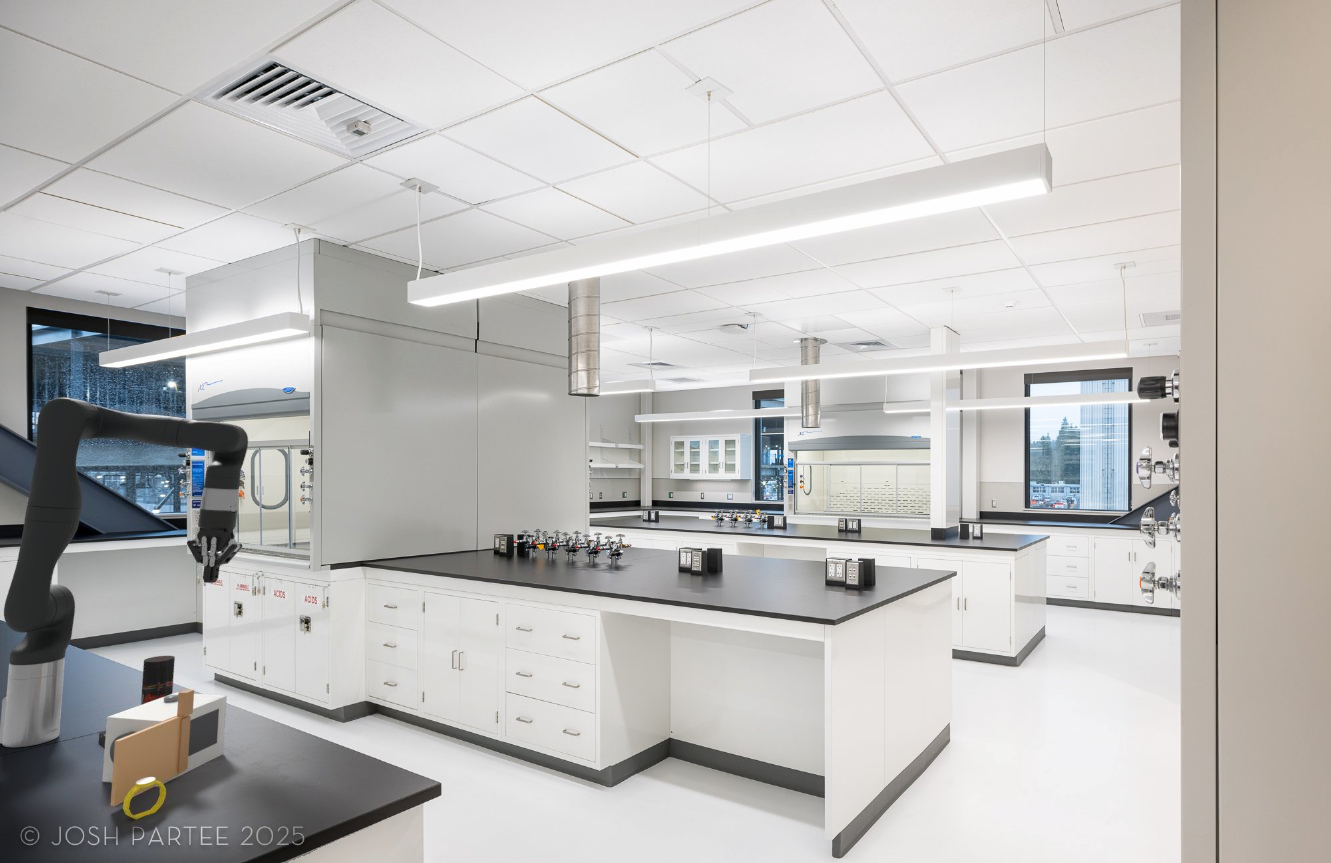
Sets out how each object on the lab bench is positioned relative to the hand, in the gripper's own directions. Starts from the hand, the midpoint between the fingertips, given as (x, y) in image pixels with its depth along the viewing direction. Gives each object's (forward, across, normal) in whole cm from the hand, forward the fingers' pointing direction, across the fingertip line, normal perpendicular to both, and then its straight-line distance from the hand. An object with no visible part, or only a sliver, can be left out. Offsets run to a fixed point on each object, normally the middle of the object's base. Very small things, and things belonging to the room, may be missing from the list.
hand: (210, 582), depth 163 cm
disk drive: (+35, -5, -8) cm, 36 cm away
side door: (+33, +18, -30) cm, 47 cm away
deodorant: (+34, -12, +3) cm, 36 cm away
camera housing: (+34, +11, -19) cm, 40 cm away
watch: (+34, +23, -37) cm, 55 cm away
